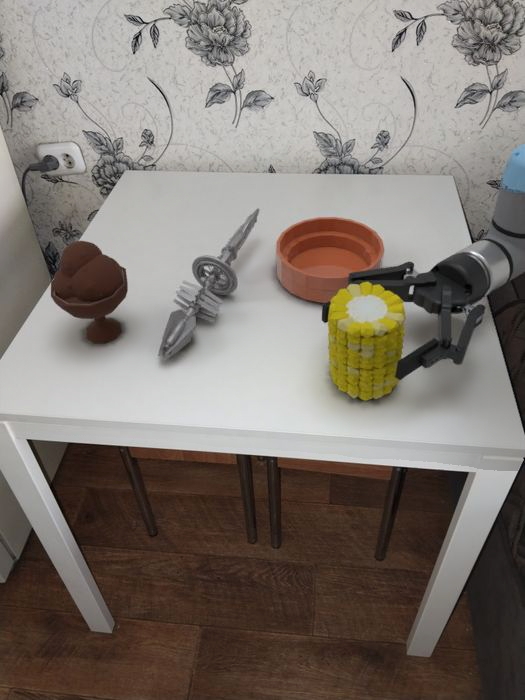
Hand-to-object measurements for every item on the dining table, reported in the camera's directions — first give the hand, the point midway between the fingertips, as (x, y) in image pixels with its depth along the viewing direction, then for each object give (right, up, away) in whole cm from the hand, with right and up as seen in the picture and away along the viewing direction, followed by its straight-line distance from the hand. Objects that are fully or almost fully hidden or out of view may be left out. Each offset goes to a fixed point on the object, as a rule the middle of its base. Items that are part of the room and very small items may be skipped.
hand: (359, 341), depth 75 cm
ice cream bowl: (-37, +2, +15) cm, 40 cm away
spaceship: (-20, +8, +21) cm, 30 cm away
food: (+1, -5, +6) cm, 8 cm away
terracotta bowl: (-1, +12, +24) cm, 27 cm away
